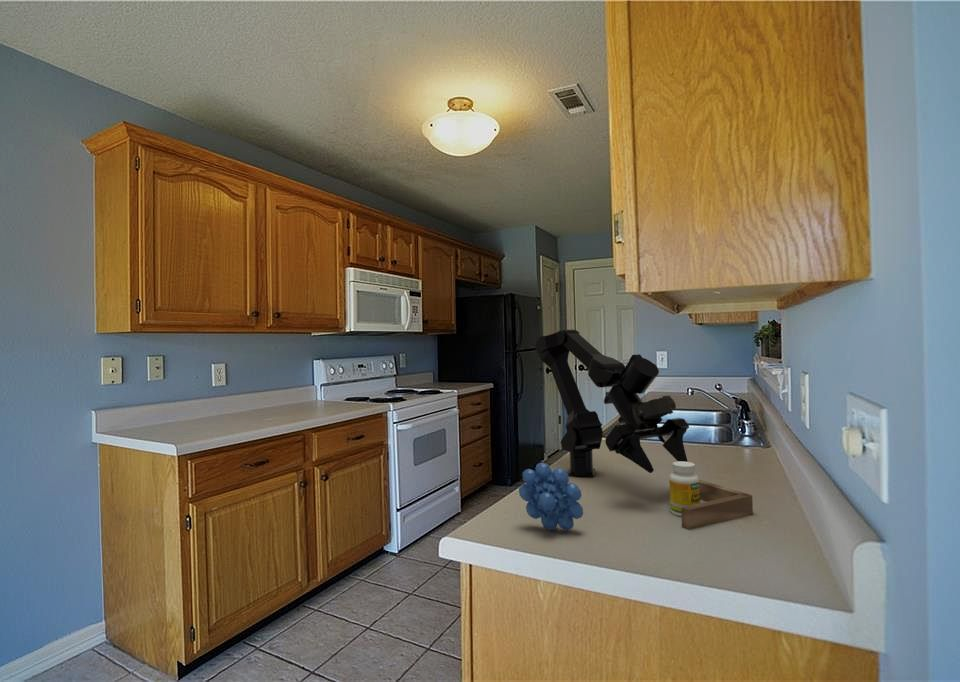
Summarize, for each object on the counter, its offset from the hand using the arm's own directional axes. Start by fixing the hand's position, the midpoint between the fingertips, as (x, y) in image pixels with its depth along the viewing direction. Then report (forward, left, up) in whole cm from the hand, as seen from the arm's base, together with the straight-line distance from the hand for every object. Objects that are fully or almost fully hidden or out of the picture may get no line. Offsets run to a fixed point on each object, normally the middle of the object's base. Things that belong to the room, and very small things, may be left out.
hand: (669, 468), depth 98 cm
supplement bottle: (+3, +2, -8) cm, 9 cm away
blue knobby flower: (+18, -22, -8) cm, 29 cm away
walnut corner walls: (0, +3, -8) cm, 8 cm away
